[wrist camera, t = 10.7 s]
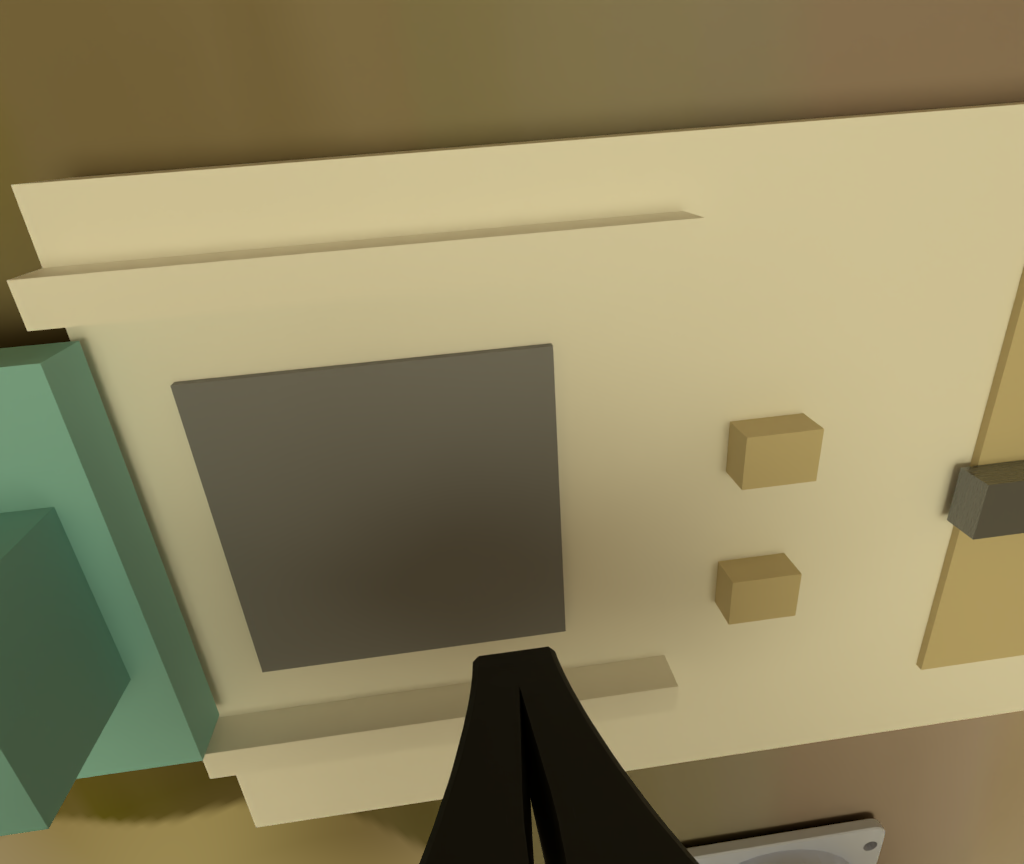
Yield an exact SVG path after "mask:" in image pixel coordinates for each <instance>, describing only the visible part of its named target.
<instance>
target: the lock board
mask: <svg viewBox="0 0 1024 864" xmlns="http://www.w3.org/2000/svg"><path fill="white" fill-rule="evenodd" d="M11 187H12V189H13V192H14V194H15V197H16V200H17V202H18V205H19V208H20V210H21V213H22V215H23V218H24V221H25V223H26V226H27V229H28V231H29V234H30V236H31V239H32V242H33V244H34V247H35V250H36V252H37V255H38V257H39V260H40V263H41V265H42V269H39V270H36V271H33V272H30V273H27V274H24V275H21V276H18V277H15V278H12V279H10V280H7V283H8V285H9V288H10V290H11V293H12V295H13V297H14V300H15V302H16V305H17V307H18V310H19V312H20V315H21V317H22V319H23V322H24V324H25V327H26V329H27V331H35V330H46V329H56V328H66V331H67V333H68V336H69V339H70V341H79V342H80V344H81V347H82V350H83V352H84V355H85V358H86V360H87V363H88V366H89V368H90V371H91V374H92V376H93V379H94V382H95V384H96V387H97V390H98V392H99V395H100V398H101V400H102V403H103V406H104V408H105V411H106V414H107V416H108V419H109V422H110V424H111V427H112V430H113V432H114V435H115V438H116V440H117V443H118V446H119V448H120V451H121V454H122V456H123V459H124V462H125V464H126V467H127V470H128V472H129V475H130V478H131V480H132V483H133V486H134V488H135V491H136V494H137V496H138V499H139V502H140V504H141V507H142V510H143V512H144V515H145V518H146V520H147V523H148V526H149V528H150V531H151V534H152V536H153V539H154V542H155V544H156V547H157V550H158V552H159V555H160V558H161V560H162V563H163V566H164V568H165V571H166V574H167V576H168V579H169V582H170V584H171V587H172V589H173V592H174V595H175V597H176V600H177V603H178V605H179V608H180V611H181V613H182V616H183V619H184V621H185V624H186V627H187V629H188V632H189V635H190V637H191V640H192V643H193V645H194V648H195V651H196V653H197V656H198V659H199V661H200V664H201V667H202V669H203V672H204V675H205V677H206V680H207V683H208V685H209V688H210V691H211V693H212V696H213V699H214V701H215V704H216V707H217V709H218V712H219V717H218V720H217V723H216V726H215V728H214V731H213V734H212V737H211V739H210V742H209V745H208V747H207V750H206V753H205V756H204V758H203V762H204V765H205V767H206V769H207V772H208V774H209V777H210V779H213V778H220V777H226V776H233V775H236V776H237V779H238V782H239V784H240V787H241V789H242V792H243V795H244V797H245V800H246V803H247V805H248V808H249V810H250V813H251V816H252V818H253V821H254V824H255V826H256V827H263V826H269V825H276V824H282V823H289V822H296V821H302V820H309V819H315V818H322V817H328V816H335V815H342V814H348V813H355V812H361V811H368V810H374V809H381V808H387V807H394V806H400V805H407V804H414V803H420V802H427V801H433V800H440V799H443V796H444V793H445V790H446V787H447V784H448V781H449V778H450V775H451V771H452V768H453V764H454V760H455V757H456V753H457V749H458V745H459V741H460V738H461V734H462V730H463V726H464V721H465V716H466V712H467V707H468V702H469V696H470V689H471V681H472V667H473V661H474V660H475V659H476V658H477V657H478V656H483V655H490V654H497V653H504V652H512V651H519V650H526V649H533V648H541V647H548V646H549V647H550V648H551V649H553V650H554V651H555V652H556V655H557V658H558V660H559V662H560V665H561V667H562V669H563V671H564V673H565V675H566V677H567V679H568V681H569V683H570V685H571V687H572V689H573V691H574V692H575V694H576V696H577V698H578V699H579V701H580V703H581V705H582V706H583V708H584V710H585V711H586V713H587V715H588V716H589V718H590V720H591V721H592V723H593V724H594V726H595V727H596V729H597V731H598V732H599V734H600V735H601V737H602V738H603V740H604V741H605V743H606V744H607V746H608V747H609V749H610V750H611V752H612V753H613V755H614V756H615V758H616V759H617V761H618V762H619V763H620V765H621V766H622V768H623V769H624V771H630V770H636V769H643V768H649V767H656V766H663V765H669V764H676V763H682V762H689V761H695V760H702V759H708V758H715V757H721V756H728V755H735V754H741V753H748V752H754V751H761V750H767V749H774V748H780V747H787V746H794V745H800V744H807V743H813V742H820V741H826V740H833V739H839V738H846V737H853V736H859V735H866V734H872V733H879V732H885V731H892V730H898V729H905V728H911V727H918V726H925V725H931V724H938V723H944V722H951V721H957V720H964V719H970V718H977V717H984V716H990V715H997V714H1003V713H1010V712H1016V711H1023V710H1024V533H1020V534H1013V535H1005V536H997V537H990V538H982V539H975V540H973V539H971V538H970V537H969V536H967V535H966V534H965V533H963V532H962V531H961V530H959V529H958V528H957V527H955V526H954V525H953V524H951V523H950V522H949V521H947V518H948V514H949V510H950V506H951V502H952V499H953V495H954V491H955V487H956V484H957V480H958V476H959V472H960V468H961V467H969V466H977V465H985V464H994V463H1002V462H1010V461H1018V460H1024V102H1015V103H1002V104H990V105H977V106H965V107H952V108H939V109H927V110H914V111H902V112H889V113H877V114H864V115H851V116H839V117H826V118H814V119H801V120H789V121H776V122H763V123H751V124H738V125H726V126H713V127H701V128H688V129H675V130H663V131H650V132H638V133H625V134H613V135H600V136H587V137H575V138H562V139H550V140H537V141H525V142H512V143H499V144H487V145H474V146H462V147H449V148H437V149H424V150H411V151H399V152H386V153H374V154H361V155H349V156H336V157H323V158H311V159H298V160H286V161H273V162H261V163H248V164H235V165H223V166H210V167H198V168H185V169H173V170H160V171H147V172H135V173H122V174H110V175H97V176H85V177H73V178H65V179H56V180H48V181H40V182H32V183H23V184H15V185H11Z"/></svg>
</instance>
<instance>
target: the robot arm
mask: <svg viewBox="0 0 1024 864" xmlns="http://www.w3.org/2000/svg"><path fill="white" fill-rule="evenodd" d="M530 798H531V802H530ZM531 803H532V807H533V812H534V816H535V820H536V825H537V829H538V834H539V838H540V843H541V847H542V851H543V856H544V860H545V864H877V861H878V857H879V854H880V850H881V847H882V843H883V840H884V836H885V830H884V828H883V827H882V825H881V824H880V822H879V821H878V820H876V819H863V820H856V821H850V822H844V823H838V824H832V825H826V826H820V827H813V828H807V829H801V830H795V831H789V832H783V833H776V834H770V835H764V836H758V837H752V838H746V839H740V840H733V841H727V842H721V843H715V844H709V845H703V846H697V847H690V848H685V847H684V846H683V844H682V843H681V842H680V841H679V840H678V839H677V837H676V836H675V835H674V834H673V833H672V831H671V830H670V829H669V828H668V827H667V825H666V824H665V823H664V822H663V820H662V819H661V818H660V817H659V816H658V814H657V813H656V812H655V810H654V809H653V808H652V807H651V805H650V804H649V803H648V801H647V800H646V799H645V798H644V796H643V795H642V794H641V792H640V791H639V790H638V788H637V787H636V786H635V784H634V783H633V781H632V780H631V779H630V777H629V776H628V775H627V773H626V772H625V771H624V769H623V768H622V766H621V765H620V763H619V762H618V761H617V759H616V758H615V756H614V755H613V753H612V752H611V750H610V749H609V747H608V746H607V744H606V743H605V741H604V740H603V738H602V737H601V735H600V734H599V732H598V731H597V729H596V727H595V726H594V724H593V723H592V721H591V720H590V718H589V716H588V715H587V713H586V711H585V710H584V708H583V706H582V705H581V703H580V701H579V699H578V698H577V696H576V694H575V692H574V691H573V689H572V687H571V685H570V683H569V681H568V679H567V677H566V675H565V673H564V671H563V669H562V667H561V665H560V662H559V660H558V658H557V655H556V652H555V651H554V650H553V649H551V648H550V647H549V646H548V647H541V648H533V649H526V650H519V651H512V652H504V653H497V654H490V655H483V656H478V657H477V658H476V659H475V660H474V661H473V667H472V681H471V689H470V696H469V702H468V707H467V712H466V716H465V721H464V726H463V730H462V734H461V738H460V741H459V745H458V749H457V753H456V757H455V760H454V764H453V768H452V771H451V775H450V778H449V781H448V784H447V787H446V790H445V793H444V796H443V799H442V802H441V805H440V808H439V811H438V814H437V817H436V820H435V823H434V826H433V829H432V832H431V834H430V837H429V840H428V842H427V845H426V848H425V850H424V853H423V856H422V858H421V861H420V863H419V864H534V859H533V840H532V821H531Z"/></svg>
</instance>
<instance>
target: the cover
mask: <svg viewBox="0 0 1024 864" xmlns="http://www.w3.org/2000/svg"><path fill="white" fill-rule="evenodd" d="M218 717H219V712H218V709H217V707H216V704H215V701H214V699H213V696H212V693H211V691H210V688H209V685H208V683H207V680H206V677H205V675H204V672H203V669H202V667H201V664H200V661H199V659H198V656H197V653H196V651H195V648H194V645H193V643H192V640H191V637H190V635H189V632H188V629H187V627H186V624H185V621H184V619H183V616H182V613H181V611H180V608H179V605H178V603H177V600H176V597H175V595H174V592H173V589H172V587H171V584H170V582H169V579H168V576H167V574H166V571H165V568H164V566H163V563H162V560H161V558H160V555H159V552H158V550H157V547H156V544H155V542H154V539H153V536H152V534H151V531H150V528H149V526H148V523H147V520H146V518H145V515H144V512H143V510H142V507H141V504H140V502H139V499H138V496H137V494H136V491H135V488H134V486H133V483H132V480H131V478H130V475H129V472H128V470H127V467H126V464H125V462H124V459H123V456H122V454H121V451H120V448H119V446H118V443H117V440H116V438H115V435H114V432H113V430H112V427H111V424H110V422H109V419H108V416H107V414H106V411H105V408H104V406H103V403H102V400H101V398H100V395H99V392H98V390H97V387H96V384H95V382H94V379H93V376H92V374H91V371H90V368H89V366H88V363H87V360H86V358H85V355H84V352H83V350H82V347H81V344H80V342H79V341H71V342H60V343H50V344H40V345H30V346H19V347H9V348H0V836H3V835H10V834H17V833H23V832H30V831H37V830H44V829H48V828H49V827H50V825H51V823H52V821H53V820H54V818H55V816H56V814H57V812H58V811H59V809H60V807H61V805H62V803H63V802H64V800H65V798H66V796H67V794H68V793H69V791H70V789H71V787H72V785H73V783H74V782H75V780H76V779H78V778H85V777H92V776H99V775H106V774H113V773H120V772H127V771H134V770H141V769H148V768H154V767H161V766H168V765H175V764H182V763H189V762H196V761H203V758H204V756H205V753H206V750H207V747H208V745H209V742H210V739H211V737H212V734H213V731H214V728H215V726H216V723H217V720H218Z"/></svg>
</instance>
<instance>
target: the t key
mask: <svg viewBox="0 0 1024 864" xmlns="http://www.w3.org/2000/svg"><path fill="white" fill-rule="evenodd" d="M947 521H949V522H950V523H951V524H953V525H954V526H955V527H957V528H958V529H959V530H961V531H962V532H963V533H965V534H966V535H967V536H969V537H970V538H971V539H973V540H975V539H982V538H990V537H997V536H1005V535H1013V534H1020V533H1024V460H1018V461H1010V462H1002V463H994V464H985V465H977V466H969V467H961V468H960V472H959V476H958V480H957V484H956V487H955V491H954V495H953V499H952V502H951V506H950V510H949V514H948V518H947Z"/></svg>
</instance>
